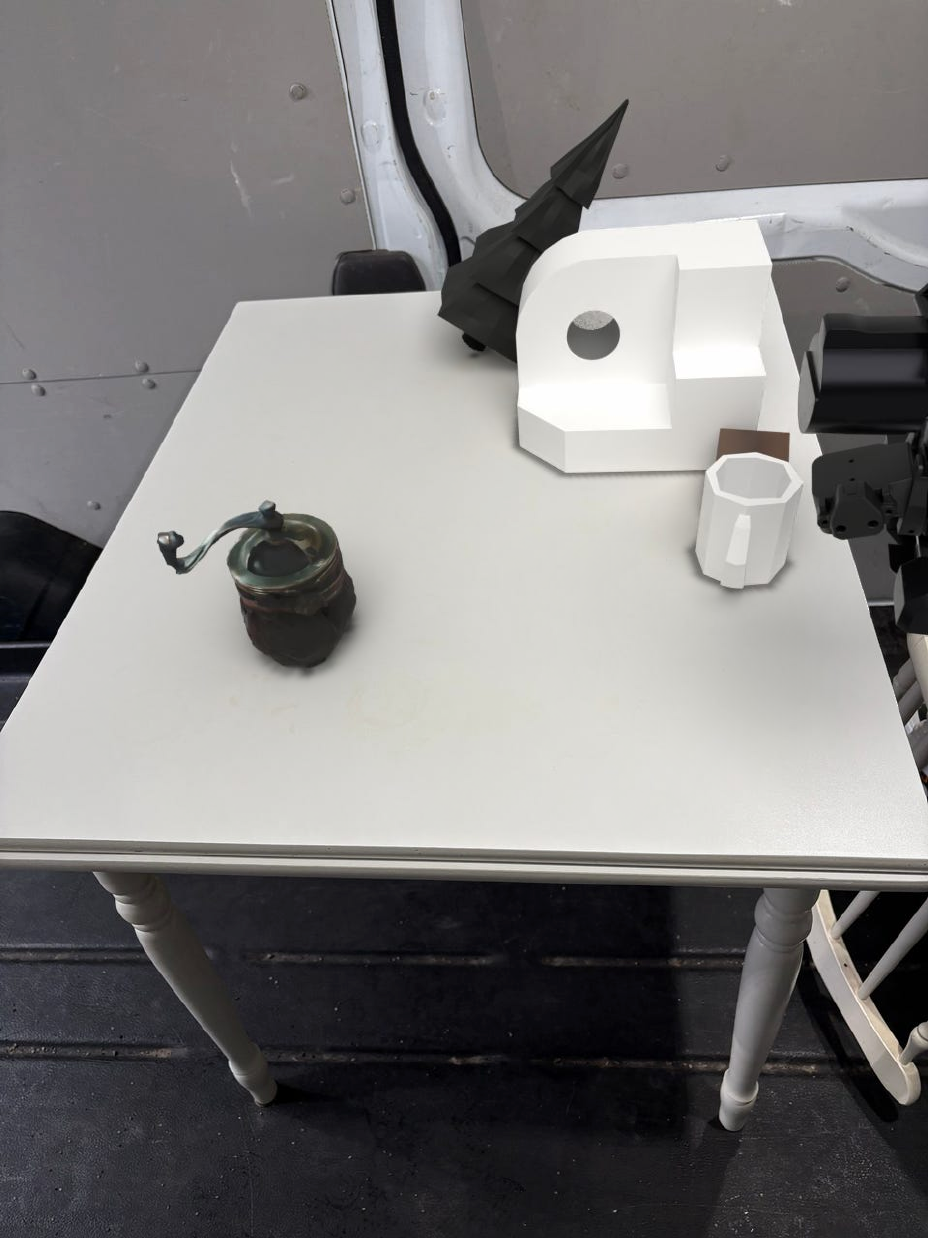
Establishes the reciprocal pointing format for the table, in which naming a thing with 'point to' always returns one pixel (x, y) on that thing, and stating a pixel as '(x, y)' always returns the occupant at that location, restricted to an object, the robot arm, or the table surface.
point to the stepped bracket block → (642, 346)
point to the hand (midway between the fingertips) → (907, 614)
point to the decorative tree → (523, 246)
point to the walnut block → (753, 443)
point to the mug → (747, 518)
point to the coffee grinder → (282, 581)
